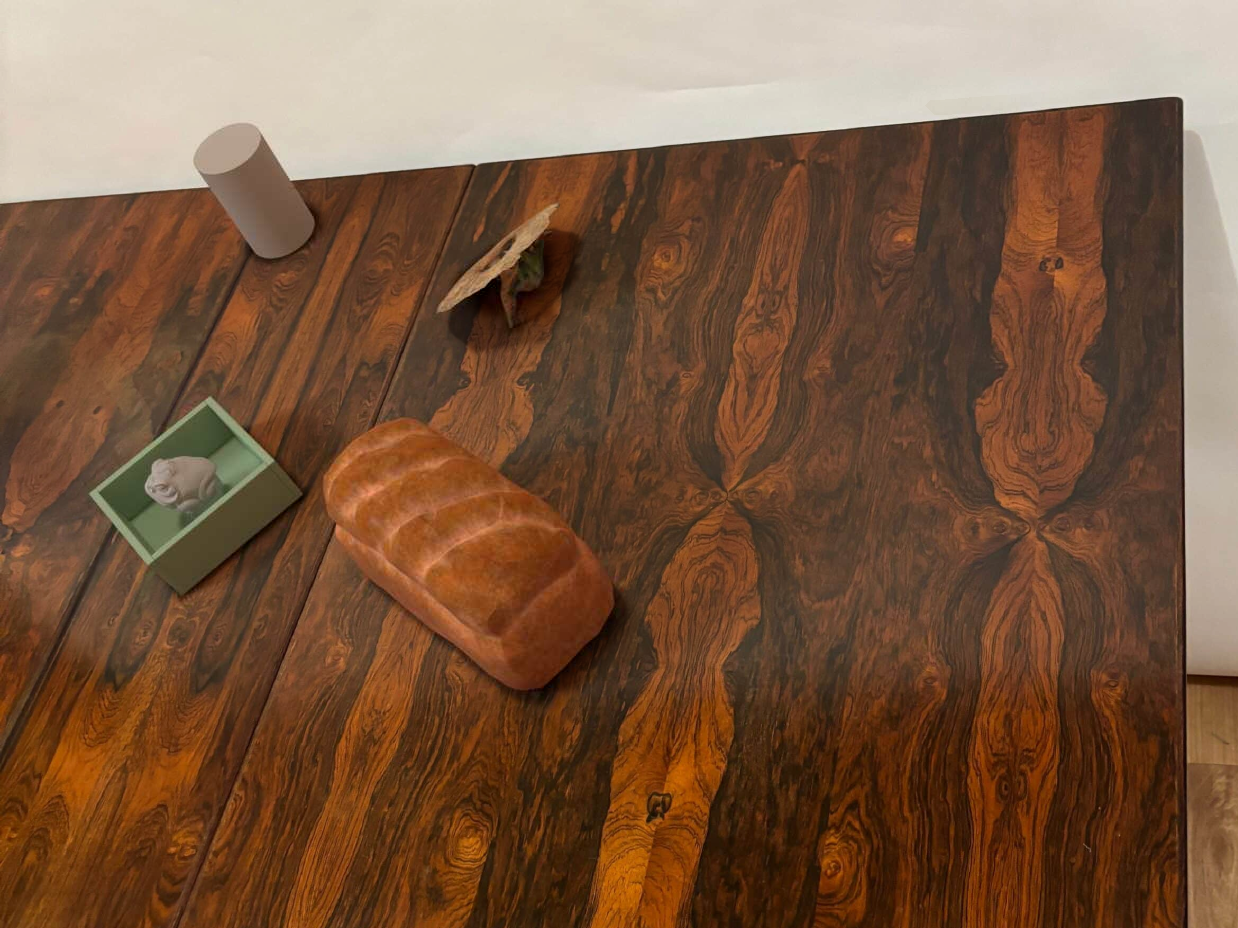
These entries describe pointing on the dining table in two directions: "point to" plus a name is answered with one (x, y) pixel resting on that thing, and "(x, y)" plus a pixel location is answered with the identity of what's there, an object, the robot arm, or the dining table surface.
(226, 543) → the tub
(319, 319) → the dining table surface
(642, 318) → the dining table surface
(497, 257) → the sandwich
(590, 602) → the bread
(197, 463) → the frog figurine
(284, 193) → the grey tilted cylinder
